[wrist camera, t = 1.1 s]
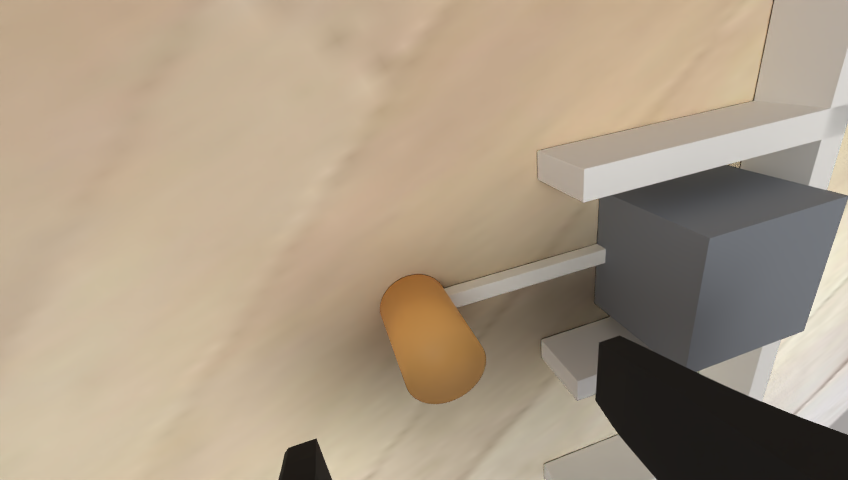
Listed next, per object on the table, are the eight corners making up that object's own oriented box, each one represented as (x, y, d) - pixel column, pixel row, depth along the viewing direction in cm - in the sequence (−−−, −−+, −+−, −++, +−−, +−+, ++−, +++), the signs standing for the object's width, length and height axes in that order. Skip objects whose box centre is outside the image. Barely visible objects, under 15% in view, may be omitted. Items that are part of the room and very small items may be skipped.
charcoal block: (692, 271, 18) (803, 330, 14) (393, 367, 16) (428, 474, 12) (711, 161, 16) (848, 195, 12) (366, 251, 13) (398, 334, 9)
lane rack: (704, 412, 23) (747, 449, 21) (543, 476, 21) (573, 525, 19) (838, -190, 12) (959, -243, 10) (530, -170, 10) (596, -232, 8)
